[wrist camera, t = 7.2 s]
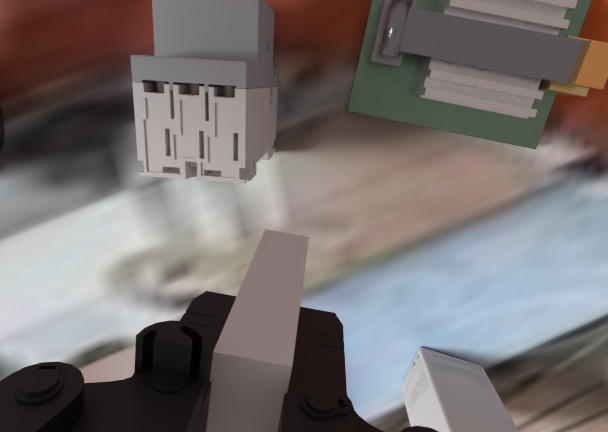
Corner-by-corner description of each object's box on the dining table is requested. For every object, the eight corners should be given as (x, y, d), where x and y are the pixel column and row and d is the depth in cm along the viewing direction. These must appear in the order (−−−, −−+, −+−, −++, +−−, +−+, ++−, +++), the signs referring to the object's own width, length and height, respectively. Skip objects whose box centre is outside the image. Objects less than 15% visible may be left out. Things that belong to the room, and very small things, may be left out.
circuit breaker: (281, -2, 38) (247, -51, 24) (275, 151, 43) (244, 187, 28) (201, -6, 39) (122, -56, 24) (204, 146, 43) (139, 179, 29)
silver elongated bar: (378, 54, 33) (379, 53, 31) (391, -1, 32) (392, -6, 30) (586, 95, 32) (600, 96, 30) (608, 40, 30) (624, 37, 29)
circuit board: (347, 109, 41) (349, 115, 34) (382, -51, 36) (393, -82, 29) (526, 146, 40) (564, 159, 34) (584, -11, 36) (641, -33, 29)
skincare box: (399, 384, 50) (425, 510, 36) (420, 341, 48) (457, 456, 34) (463, 405, 51) (515, 538, 36) (487, 363, 49) (553, 486, 34)
